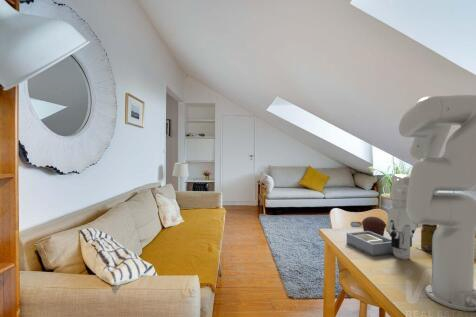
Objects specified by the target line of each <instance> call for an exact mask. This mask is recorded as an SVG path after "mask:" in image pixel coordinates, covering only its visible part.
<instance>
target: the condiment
mask: <svg viewBox="0 0 476 317" xmlns="http://www.w3.org/2000/svg"><path fill="white" fill-rule="evenodd" d="M421 225H422V226H421V230H420V234H421V235H420V246H418V247H416V249H418V250H421V251H422V252H425V253H428V254H431V255H432V238H433V234H434V232H435V230H436V229H437V227H438V225H428V224H421Z"/></svg>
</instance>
